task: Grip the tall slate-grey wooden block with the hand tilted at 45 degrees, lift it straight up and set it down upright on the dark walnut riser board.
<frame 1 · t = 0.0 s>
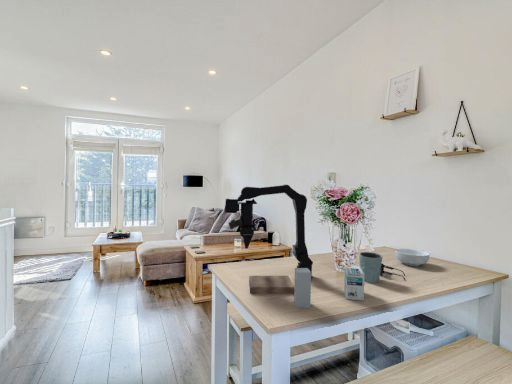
hand: (246, 246, 133), 15 cm above the table, tool pointing down, fingers open, 9 cm apart
cereal bowl: (411, 264, 159), on the table
slate block: (302, 304, 105), on the table
grey green cup: (369, 280, 132), on the table
sunglasses: (391, 276, 139), on the table
light bulb box: (353, 295, 114), on the table
walnut riser: (270, 286, 121), on the table
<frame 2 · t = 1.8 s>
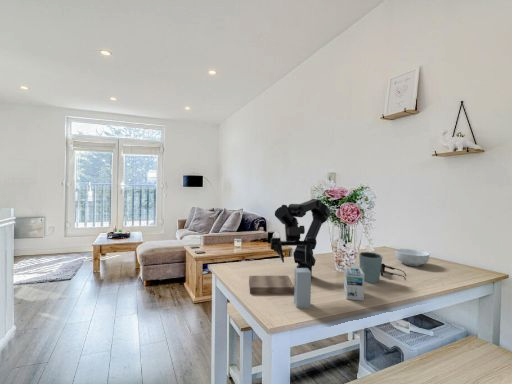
hand: (294, 262, 112), 13 cm above the table, tool tilted 45°, fingers open, 9 cm apart
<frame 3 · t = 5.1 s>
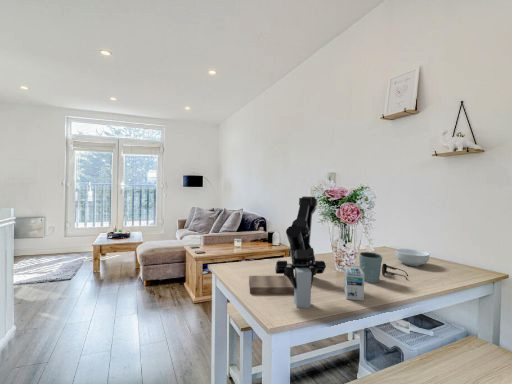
hand: (303, 288, 103), 7 cm above the table, tool tilted 45°, fingers closed on slate block, 5 cm apart
slate block: (302, 304, 105), on the table, touching gripper
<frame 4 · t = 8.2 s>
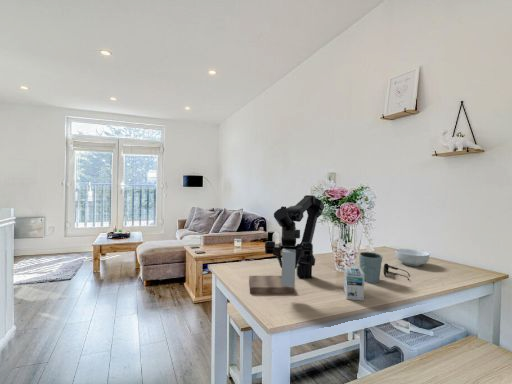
hand: (288, 267, 107), 13 cm above the table, tool tilted 45°, fingers closed on slate block, 5 cm apart
slate block: (287, 283, 109), point 6 cm above the table, touching gripper
when the fingers open (10 cm above the table, at t = 10.9 s): slate block drops 1 cm, resting on walnut riser.
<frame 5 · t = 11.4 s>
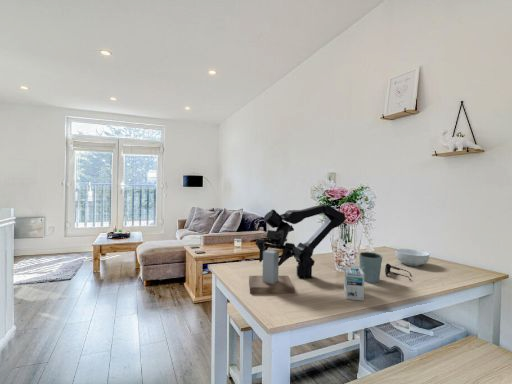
hand: (269, 263, 120), 11 cm above the table, tool tilted 45°, fingers open, 9 cm apart
slate block: (270, 281, 121), point 2 cm above the table, touching walnut riser
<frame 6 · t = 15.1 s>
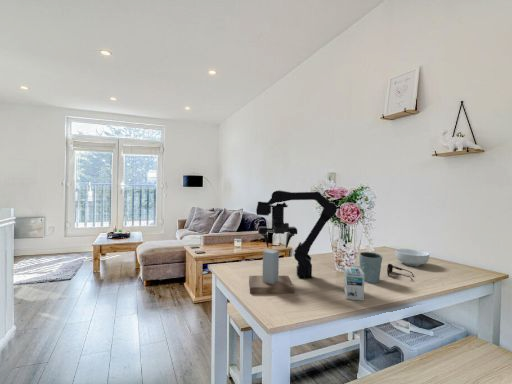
hand: (277, 247, 138), 13 cm above the table, tool pointing down, fingers open, 9 cm apart
at the end: slate block inside the target area on the walnut riser (0.0 cm from its centre), point 2.5 cm above the walnut riser's base; slate block tilted 0°; the gripper is holding nothing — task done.
